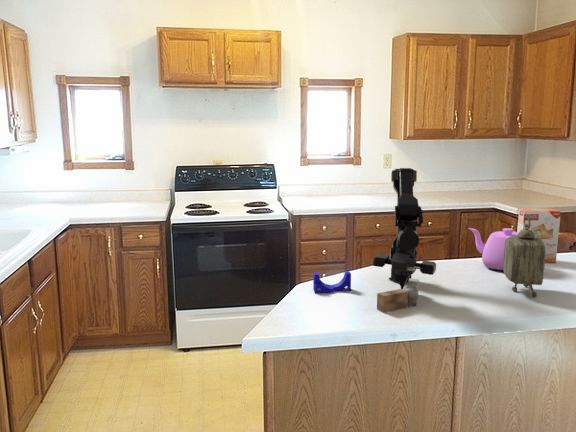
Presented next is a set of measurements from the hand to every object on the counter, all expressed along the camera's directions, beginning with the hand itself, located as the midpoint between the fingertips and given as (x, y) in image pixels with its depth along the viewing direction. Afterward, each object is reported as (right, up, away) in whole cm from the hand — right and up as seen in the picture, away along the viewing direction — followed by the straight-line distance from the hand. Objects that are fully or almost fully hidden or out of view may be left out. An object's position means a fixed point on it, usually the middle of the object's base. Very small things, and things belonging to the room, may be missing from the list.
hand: (402, 290), depth 163 cm
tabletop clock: (+39, -1, +5) cm, 40 cm away
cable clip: (-22, -2, +7) cm, 23 cm away
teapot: (+46, +4, +33) cm, 57 cm away
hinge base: (-3, -4, -9) cm, 11 cm away
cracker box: (+62, +5, +41) cm, 75 cm away
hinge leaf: (+2, -2, -3) cm, 4 cm away
